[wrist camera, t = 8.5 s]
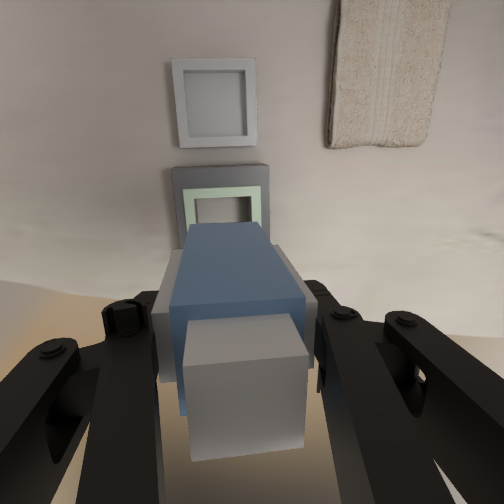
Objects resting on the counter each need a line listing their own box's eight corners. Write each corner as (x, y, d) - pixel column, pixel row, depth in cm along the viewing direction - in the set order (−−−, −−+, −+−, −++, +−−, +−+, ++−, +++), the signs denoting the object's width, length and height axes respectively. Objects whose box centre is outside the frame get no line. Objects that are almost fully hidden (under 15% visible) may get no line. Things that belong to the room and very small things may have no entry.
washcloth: (445, -37, 32) (468, -55, 29) (417, 147, 38) (434, 148, 35) (333, -43, 31) (346, -63, 28) (322, 149, 36) (331, 149, 34)
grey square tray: (173, 64, 31) (170, 57, 29) (252, 64, 32) (255, 57, 30) (182, 147, 34) (180, 148, 32) (254, 145, 35) (257, 145, 32)
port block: (175, 167, 35) (170, 169, 31) (263, 163, 36) (269, 165, 32) (185, 267, 38) (183, 280, 35) (265, 261, 40) (271, 273, 36)
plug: (189, 224, 18) (158, 349, 7) (257, 221, 19) (330, 335, 7) (194, 286, 19) (173, 478, 8) (257, 282, 20) (319, 458, 9)
